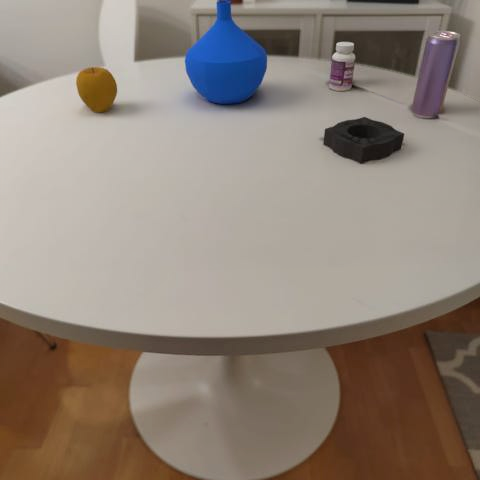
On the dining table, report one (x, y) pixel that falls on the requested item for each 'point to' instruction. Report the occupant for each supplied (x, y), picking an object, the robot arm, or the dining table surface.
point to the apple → (96, 88)
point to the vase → (226, 61)
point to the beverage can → (435, 73)
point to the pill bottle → (342, 67)
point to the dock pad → (363, 139)
